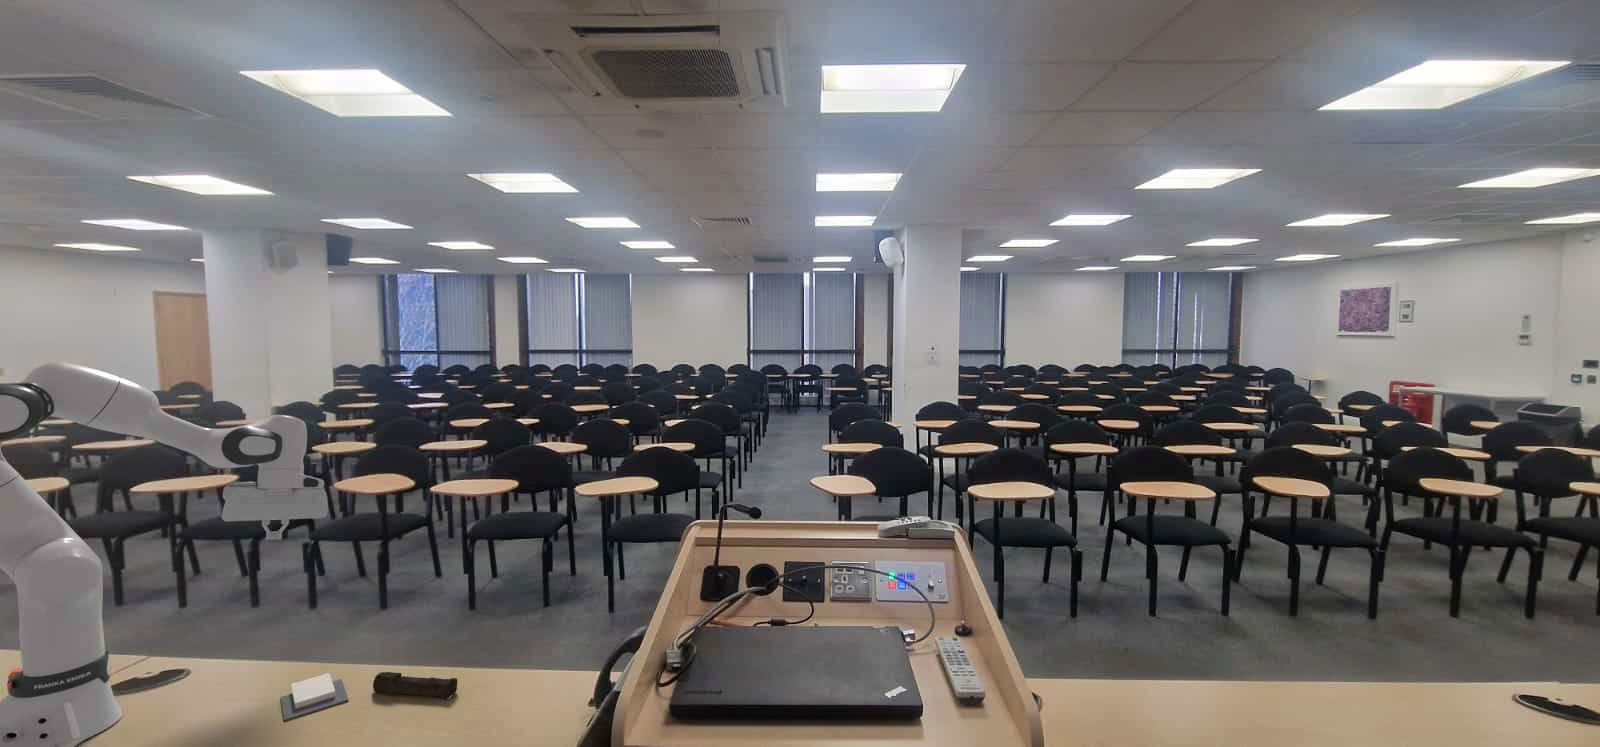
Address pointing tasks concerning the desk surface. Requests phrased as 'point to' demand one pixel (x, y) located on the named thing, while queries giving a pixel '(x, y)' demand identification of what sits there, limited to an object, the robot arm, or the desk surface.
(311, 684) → the tile
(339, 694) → the mat
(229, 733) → the desk surface
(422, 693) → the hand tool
